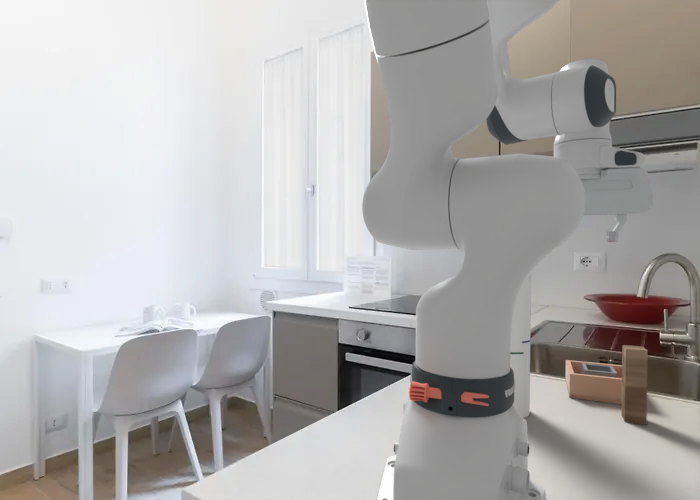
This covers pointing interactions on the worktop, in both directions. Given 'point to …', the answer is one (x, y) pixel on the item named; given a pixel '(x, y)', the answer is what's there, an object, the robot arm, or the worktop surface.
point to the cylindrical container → (521, 349)
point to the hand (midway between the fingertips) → (580, 242)
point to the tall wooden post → (634, 384)
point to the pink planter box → (594, 381)
